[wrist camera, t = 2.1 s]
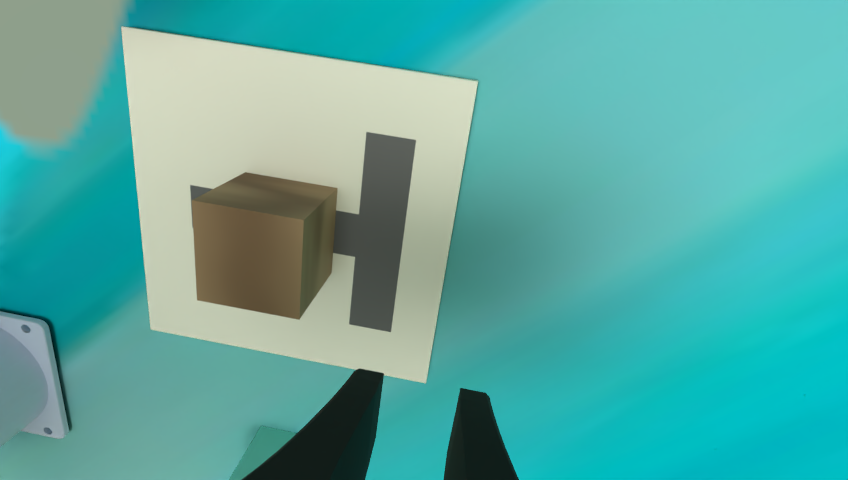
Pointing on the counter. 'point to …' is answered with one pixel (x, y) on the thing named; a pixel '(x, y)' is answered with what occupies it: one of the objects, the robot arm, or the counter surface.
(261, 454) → the turquoise cube
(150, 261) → the board
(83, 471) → the counter surface
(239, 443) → the counter surface
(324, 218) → the walnut block
